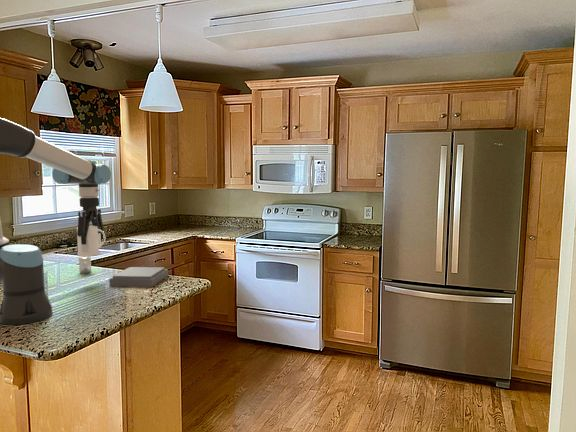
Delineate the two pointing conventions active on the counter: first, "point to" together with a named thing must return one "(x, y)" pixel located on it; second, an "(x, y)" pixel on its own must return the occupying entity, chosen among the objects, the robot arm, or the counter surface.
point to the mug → (91, 242)
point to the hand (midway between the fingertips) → (91, 249)
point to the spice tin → (84, 265)
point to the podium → (139, 276)
